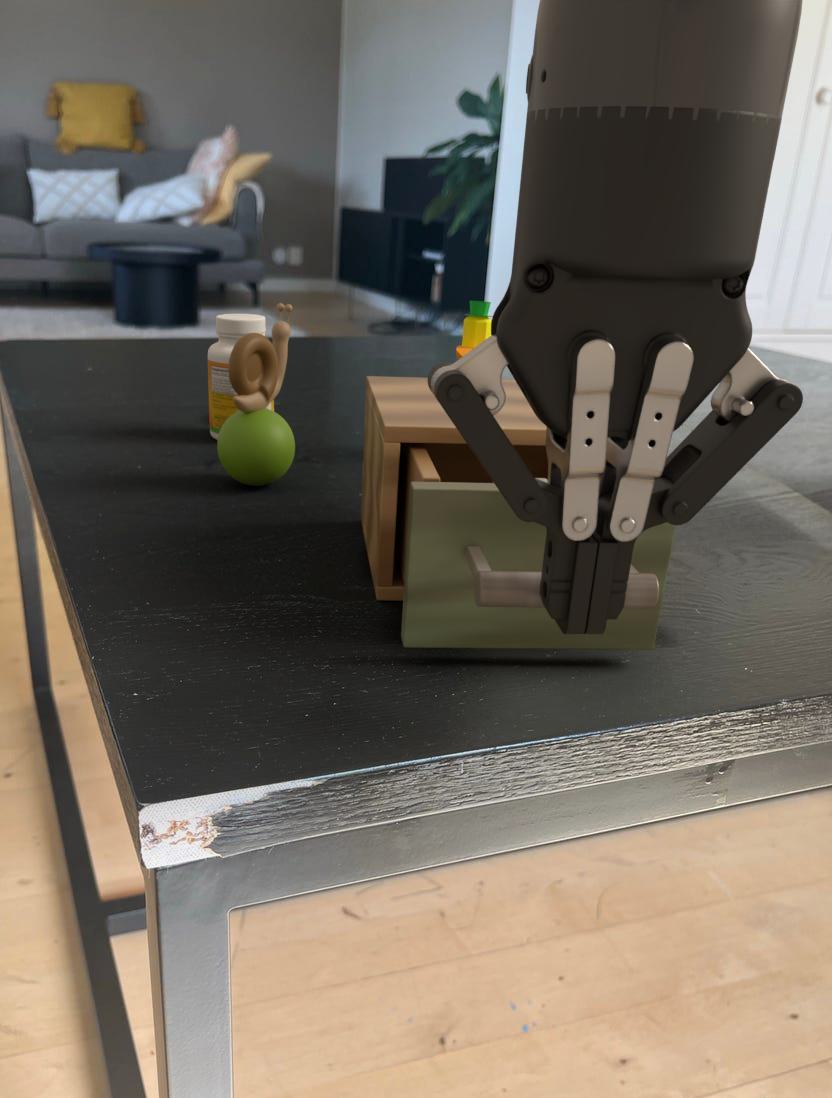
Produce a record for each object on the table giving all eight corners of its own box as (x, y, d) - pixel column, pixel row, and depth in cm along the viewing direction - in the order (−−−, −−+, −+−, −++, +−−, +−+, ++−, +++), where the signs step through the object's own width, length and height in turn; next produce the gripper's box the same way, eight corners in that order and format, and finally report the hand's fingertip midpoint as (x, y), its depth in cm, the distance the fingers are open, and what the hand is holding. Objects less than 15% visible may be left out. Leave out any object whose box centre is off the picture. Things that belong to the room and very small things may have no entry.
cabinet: (614, 603, 52) (641, 431, 48) (376, 601, 51) (384, 425, 47) (553, 523, 64) (571, 381, 60) (360, 520, 63) (366, 375, 60)
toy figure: (481, 471, 75) (495, 307, 70) (435, 467, 76) (446, 304, 71) (492, 451, 81) (506, 298, 76) (449, 447, 82) (461, 295, 77)
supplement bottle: (235, 426, 86) (234, 310, 82) (286, 435, 84) (287, 316, 80) (196, 437, 82) (192, 316, 78) (248, 447, 80) (247, 322, 76)
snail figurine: (316, 479, 72) (320, 306, 67) (265, 500, 67) (265, 314, 62) (255, 467, 74) (254, 299, 69) (202, 486, 69) (197, 307, 64)
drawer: (693, 702, 40) (728, 531, 37) (415, 700, 39) (427, 526, 36) (581, 555, 56) (599, 427, 53) (381, 552, 55) (387, 422, 52)
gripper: (455, 83, 26) (414, 669, 33) (933, 106, 27) (793, 672, 34) (421, 105, 33) (393, 587, 40) (803, 122, 34) (709, 591, 41)
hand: (577, 625), depth 37 cm, fingers closed
